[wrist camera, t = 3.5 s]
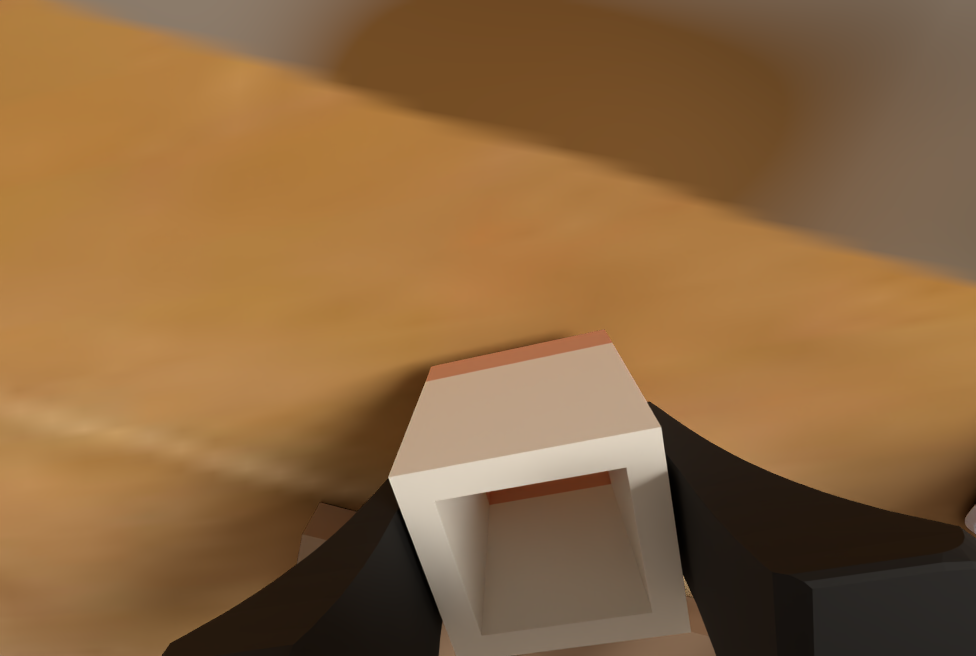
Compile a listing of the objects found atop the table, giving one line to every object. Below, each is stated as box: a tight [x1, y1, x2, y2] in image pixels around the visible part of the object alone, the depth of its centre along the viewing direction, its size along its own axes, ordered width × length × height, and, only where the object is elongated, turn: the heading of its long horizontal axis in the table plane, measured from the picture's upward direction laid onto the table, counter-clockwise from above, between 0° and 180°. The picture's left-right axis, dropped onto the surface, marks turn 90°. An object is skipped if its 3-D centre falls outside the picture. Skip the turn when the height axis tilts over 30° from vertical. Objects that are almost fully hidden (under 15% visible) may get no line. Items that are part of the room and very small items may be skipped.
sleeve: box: [388, 329, 691, 656], centre depth 11 cm, size 5×5×5 cm
